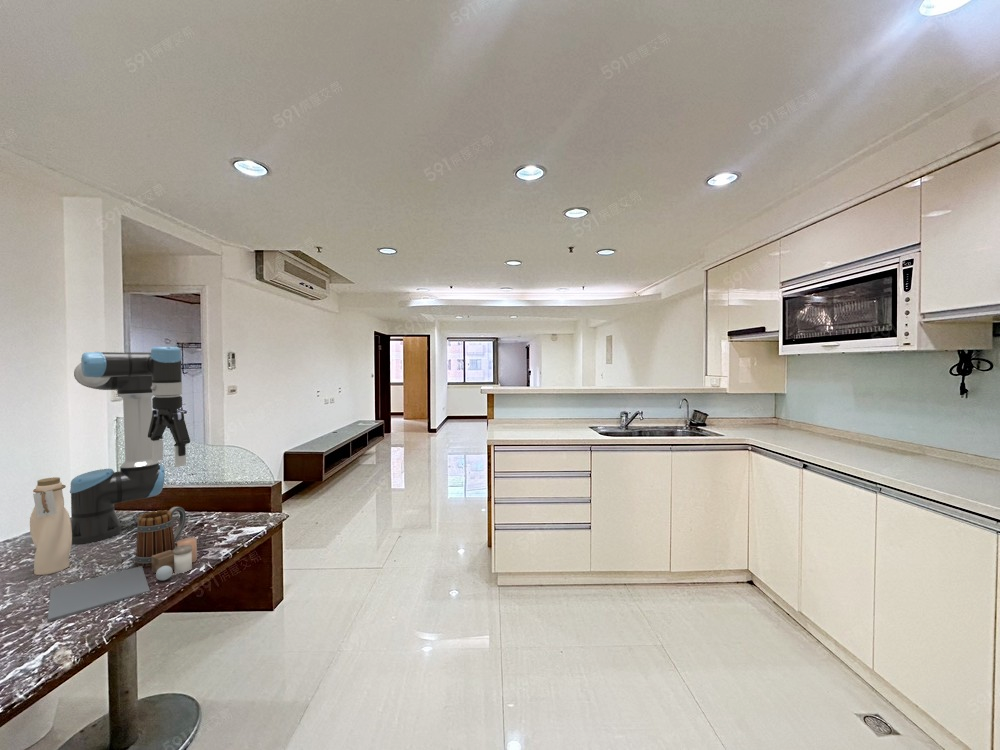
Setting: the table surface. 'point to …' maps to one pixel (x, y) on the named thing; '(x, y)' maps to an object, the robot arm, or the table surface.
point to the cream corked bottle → (50, 527)
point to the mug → (157, 534)
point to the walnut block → (162, 560)
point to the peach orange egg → (193, 543)
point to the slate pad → (96, 592)
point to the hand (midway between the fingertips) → (168, 463)
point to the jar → (182, 558)
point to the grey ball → (164, 573)
